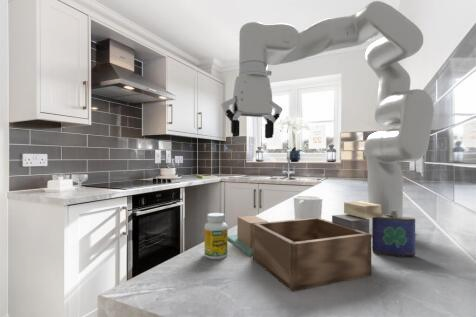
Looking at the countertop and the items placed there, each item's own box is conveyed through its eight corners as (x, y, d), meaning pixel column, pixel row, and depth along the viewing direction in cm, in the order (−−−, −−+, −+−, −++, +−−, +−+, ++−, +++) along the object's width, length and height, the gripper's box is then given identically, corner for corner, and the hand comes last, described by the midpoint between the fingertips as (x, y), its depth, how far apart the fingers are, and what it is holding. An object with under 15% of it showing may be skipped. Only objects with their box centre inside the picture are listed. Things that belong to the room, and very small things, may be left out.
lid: (279, 233, 83) (279, 210, 83) (311, 249, 69) (311, 221, 69) (226, 240, 76) (226, 214, 76) (250, 258, 62) (250, 227, 62)
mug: (300, 224, 93) (300, 194, 93) (325, 228, 88) (326, 197, 88) (286, 231, 85) (286, 198, 85) (313, 236, 79) (314, 201, 79)
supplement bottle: (220, 250, 66) (220, 211, 66) (231, 256, 62) (232, 215, 62) (200, 254, 63) (200, 213, 63) (211, 261, 59) (211, 217, 59)
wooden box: (333, 247, 69) (334, 210, 69) (389, 271, 54) (389, 224, 54) (252, 259, 61) (252, 216, 61) (292, 291, 46) (292, 235, 46)
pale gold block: (360, 211, 66) (360, 201, 66) (381, 216, 60) (381, 205, 60) (344, 213, 64) (344, 202, 64) (364, 218, 58) (364, 206, 58)
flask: (413, 254, 65) (413, 209, 65) (417, 258, 62) (418, 211, 62) (371, 250, 67) (371, 207, 67) (373, 254, 64) (373, 209, 64)
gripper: (274, 80, 78) (274, 139, 78) (217, 72, 72) (217, 137, 72) (288, 72, 71) (288, 137, 71) (227, 63, 65) (226, 134, 65)
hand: (252, 137), depth 72 cm, fingers open, 9 cm apart
